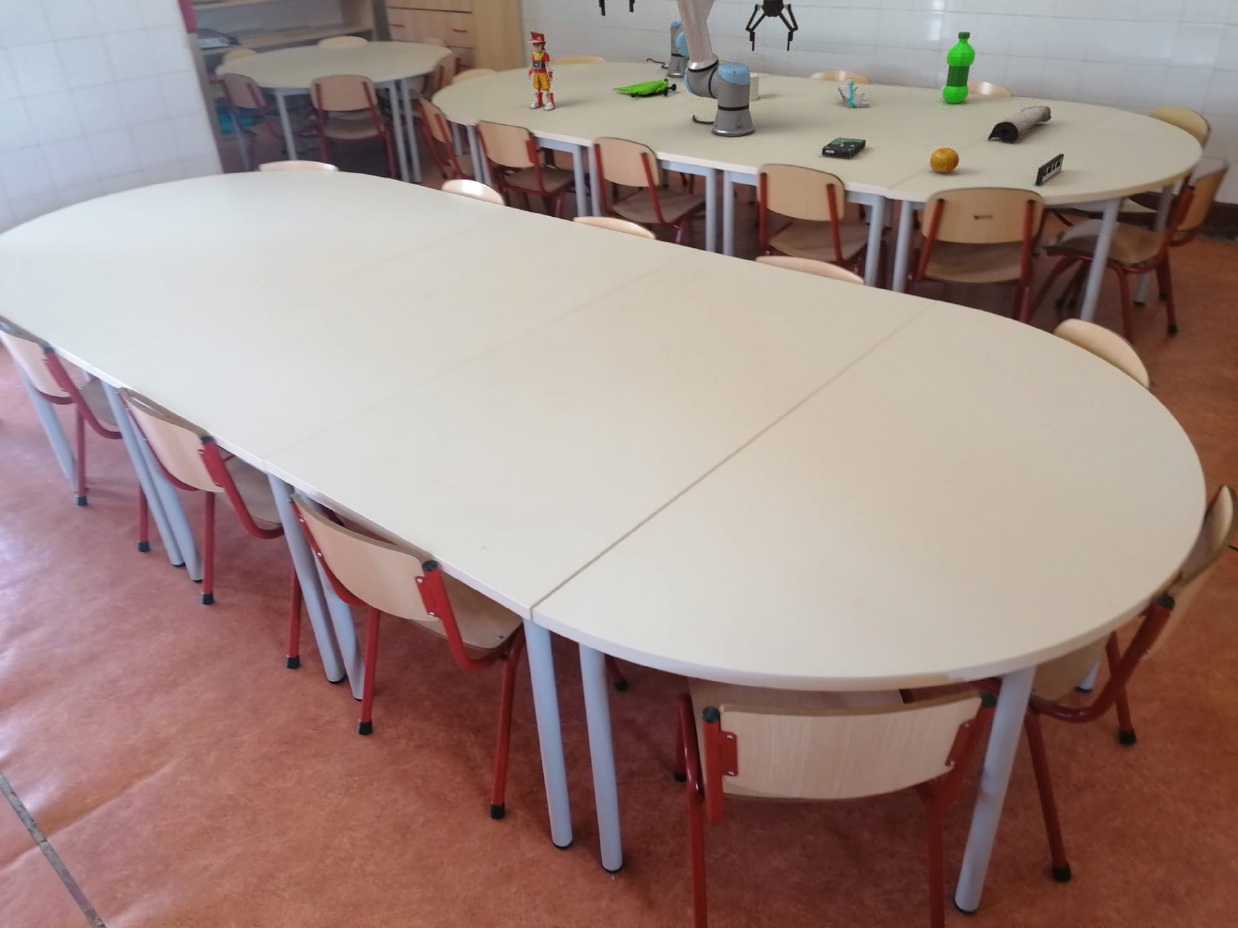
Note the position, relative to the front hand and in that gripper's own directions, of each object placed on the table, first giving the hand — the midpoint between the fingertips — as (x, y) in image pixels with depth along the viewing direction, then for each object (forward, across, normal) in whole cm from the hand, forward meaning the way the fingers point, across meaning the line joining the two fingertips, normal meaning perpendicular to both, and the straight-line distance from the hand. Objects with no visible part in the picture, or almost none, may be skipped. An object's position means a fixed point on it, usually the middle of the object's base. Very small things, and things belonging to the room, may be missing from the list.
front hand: (770, 50), depth 351 cm
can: (+21, +8, -16) cm, 28 cm away
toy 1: (+22, +95, -2) cm, 98 cm away
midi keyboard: (+22, -91, +89) cm, 129 cm away
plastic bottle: (+20, -73, -7) cm, 76 cm away
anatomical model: (+21, -33, -5) cm, 40 cm away
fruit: (+22, -61, +84) cm, 106 cm away
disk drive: (+22, -30, +62) cm, 73 cm away
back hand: (-8, +70, -42) cm, 82 cm away
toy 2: (+22, +58, -28) cm, 68 cm away
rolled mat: (+21, -91, +37) cm, 100 cm away
